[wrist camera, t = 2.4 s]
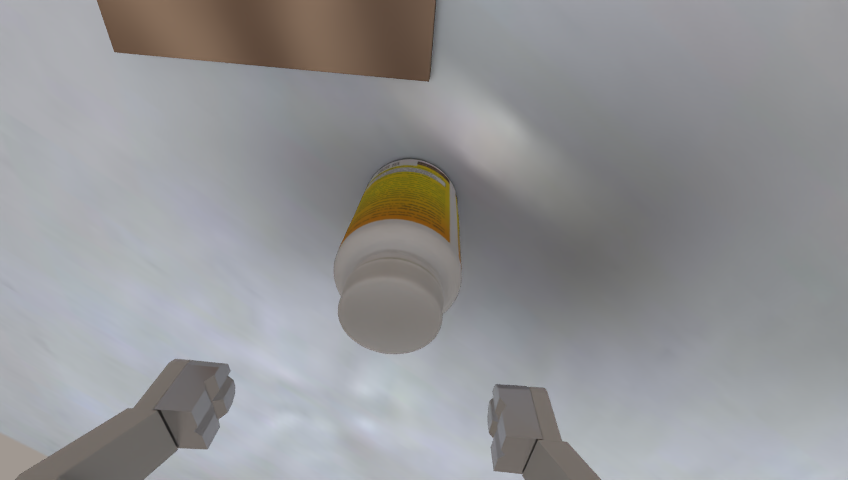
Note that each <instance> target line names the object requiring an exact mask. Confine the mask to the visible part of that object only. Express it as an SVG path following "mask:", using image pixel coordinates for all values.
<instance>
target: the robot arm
mask: <svg viewBox="0 0 848 480" xmlns="http://www.w3.org/2000/svg"><path fill="white" fill-rule="evenodd" d="M229 373H230V368H229V365H228V364H225V363H215V362H204V361H194V360H184V359H174V360H173V361H171V362H170V363H168V365H167V366H166V367H165V368H164V370H163V371H162V372H161V374H160V375H159V376H158V377H157V379H156V380H155V381H154V382H153V384H152V385H151V386H150V388H149V389H148V390H147V391H146V393H145V394H144V395H143V396H142V398H141V399H140V400H139V402H138V403H137V404H136V405H135V407H134V408H127V409H126V410H124V411H122V412H121V413H119V414H118V415H116V416H114V417H113V418H111V419H109V420H108V421H106V422H104V423H103V424H101V425H100V426H98V427H96V428H95V429H93V430H91V431H90V432H88V433H86V434H85V435H83V436H82V437H80V438H78V439H77V440H75V441H73V442H72V443H70V444H68V445H67V446H65V447H64V448H62V449H60V450H59V451H57V452H55V453H54V454H52V455H51V456H49V457H47V458H46V459H44V460H42V461H41V462H39V463H37V464H36V465H34V466H33V467H31V468H29V469H28V470H26V471H24V472H23V473H21V474H20V475H19V476H18V477H17V478H16V479H15V480H144V479H145V478H146V477H147V476H148V475H149V474H151V473H152V472H153V471H154V470H155V469H156V468H157V467H159V466H160V465H161V464H162V463H163V462H164V461H166V460H167V459H168V458H169V457H170V456H171V455H172V454H174V453H175V452H176V451H177V450H178V449H177V448H189V449H208V448H209V446H210V444H211V442H212V441H213V439H214V437H215V435H216V433H217V431H218V429H219V428H220V425H219V418H221V417H222V416H224V415H225V414H226V413H228V411H229V409H230V407H231V405H232V403H233V399H234V395H235V384H234V380H232V379H231V378H230V377H229V376H228V375H229ZM492 392H493V399H491V400H490V402H489V406H488V416H487V417H488V430H489V433H490V435H491V436H492V437H493V441H492V445H491V454H492V462H493V469H494V471H499V472H509V473H518V474H523V475H522V476H523V478H524V479H525V480H601V479H600V478H599V477H598V476H597V474H596V473H595V472H594V471H593V470H592V469H591V468H590V467H589V466H588V464H587V463H586V462H585V461H584V460H583V459H582V458H581V457H580V456H579V454H578V453H577V452H576V451H575V450H574V449H573V448H572V447H571V446H570V445H569V443H568V442H564V441H562V439H561V436H560V433H559V429H558V426H557V423H556V419H555V416H554V413H553V409H552V406H551V403H550V399H549V396H548V393H547V391H546V389H545V388H540V387H527V386H517V385H501V384H495V386H494V388H493V391H492Z"/></svg>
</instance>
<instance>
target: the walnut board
mask: <svg viewBox="0 0 848 480" xmlns="http://www.w3.org/2000/svg"><path fill="white" fill-rule="evenodd" d="M97 2H98V5H99V8H100V11H101V14H102V17H103V20H104V23H105V26H106V29H107V32H108V35H109V38H110V40H111V43H112V46H113V49H114V52H118V53H129V54H139V55H150V56H161V57H172V58H182V59H193V60H204V61H214V62H225V63H236V64H246V65H257V66H268V67H279V68H289V69H300V70H311V71H321V72H332V73H343V74H353V75H364V76H375V77H386V78H396V79H407V80H418V81H428V82H429V79H430V71H431V58H432V46H433V34H434V21H435V9H436V0H97Z"/></svg>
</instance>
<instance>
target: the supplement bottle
mask: <svg viewBox="0 0 848 480" xmlns="http://www.w3.org/2000/svg"><path fill="white" fill-rule="evenodd" d="M334 279H335V283H336V287H337V289H338V291H339V293H340V295H341V298H340V301H339V305H338V317H339V321H340V323H341V325H342V327H343V329H344V331H345V332H346V333H347V335H348V336H349V337H350V338H351V339H353V340H354V341H355V342H357V343H358V344H360V345H362V346H363V347H365V348H368V349H370V350H373V351H376V352H380V353H386V354H403V353H409V352H413V351H416V350H419V349H421V348H423V347H424V346H426V345H427V344H429V343H430V342H431V341H432V340H433V339H434V338H435V337H436V335H437V334H438V332H439V330H440V328H441V324H442V314H443V313H445V312H446V311H447V310H448V309H449V308H450V307H451V305H452V304H453V303H454V301H455V299H456V298H457V295H458V293H459V290H460V287H461V280H462V267H461V250H460V231H459V215H458V202H457V196H456V192H455V189H454V186H453V184H452V183H451V181H450V180H449V178H448V177H447V176H446V175H445V174H444V173H443V172H442V171H441V170H440V169H438V168H437V167H435V166H434V165H432V164H430V163H427V162H425V161H421V160H416V159H404V160H398V161H395V162H392V163H389V164H387V165H386V166H384V167H382V168H381V169H380V170H379V171H378V172H377V173H376V174H375V175H374V176H373V177H372V179H371V180H370V182H369V184H368V186H367V188H366V190H365V192H364V194H363V197H362V199H361V201H360V203H359V206H358V208H357V210H356V212H355V215H354V217H353V219H352V221H351V223H350V225H349V228H348V230H347V232H346V234H345V236H344V239H343V241H342V243H341V245H340V247H339V250H338V252H337V255H336V258H335V262H334Z"/></svg>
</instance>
